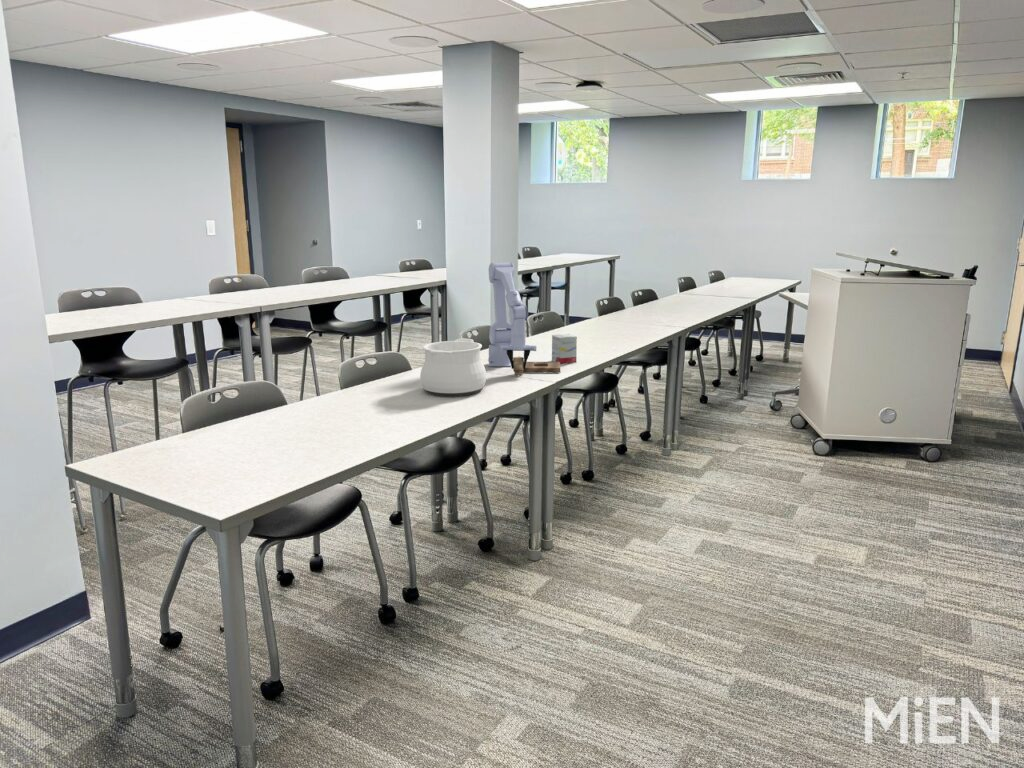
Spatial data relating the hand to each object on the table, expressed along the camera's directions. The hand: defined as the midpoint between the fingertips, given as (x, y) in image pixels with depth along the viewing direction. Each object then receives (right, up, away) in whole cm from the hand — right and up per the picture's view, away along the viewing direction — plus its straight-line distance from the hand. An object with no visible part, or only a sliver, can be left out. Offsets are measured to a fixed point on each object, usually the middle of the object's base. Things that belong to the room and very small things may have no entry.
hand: (518, 368), depth 291 cm
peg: (0, -3, +1) cm, 3 cm away
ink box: (+20, +3, +26) cm, 33 cm away
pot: (-24, -9, -24) cm, 36 cm away
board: (+9, 0, +10) cm, 14 cm away
